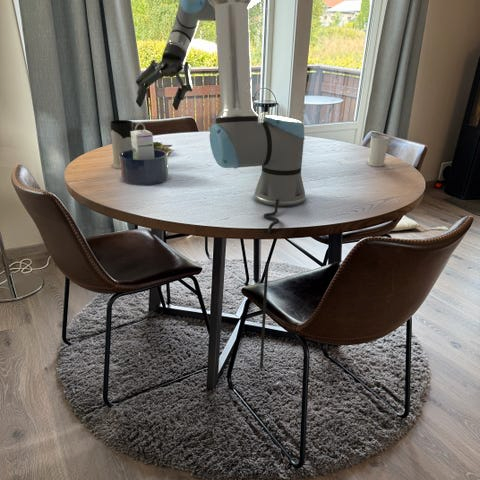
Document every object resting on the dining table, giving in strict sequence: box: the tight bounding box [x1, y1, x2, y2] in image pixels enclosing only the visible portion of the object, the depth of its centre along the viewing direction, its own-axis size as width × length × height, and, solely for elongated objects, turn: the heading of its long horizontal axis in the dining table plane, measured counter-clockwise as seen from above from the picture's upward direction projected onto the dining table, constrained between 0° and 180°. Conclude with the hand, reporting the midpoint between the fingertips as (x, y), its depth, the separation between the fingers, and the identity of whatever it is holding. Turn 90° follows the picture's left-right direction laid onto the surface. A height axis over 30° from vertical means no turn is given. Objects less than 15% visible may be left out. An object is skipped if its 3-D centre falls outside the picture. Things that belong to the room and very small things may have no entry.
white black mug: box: [109, 119, 147, 170], centre depth 177 cm, size 9×14×15 cm, turn 135°
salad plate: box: [153, 141, 174, 156], centre depth 196 cm, size 19×18×5 cm
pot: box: [119, 149, 169, 186], centre depth 164 cm, size 15×15×8 cm
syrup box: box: [131, 129, 155, 159], centre depth 162 cm, size 6×6×14 cm
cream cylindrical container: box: [367, 134, 390, 167], centre depth 187 cm, size 7×7×10 cm
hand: (156, 105), depth 161 cm, fingers open, 13 cm apart
